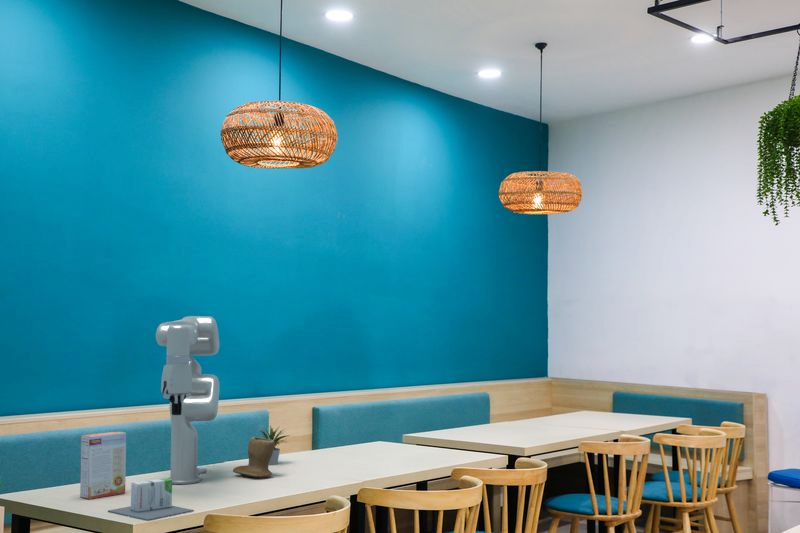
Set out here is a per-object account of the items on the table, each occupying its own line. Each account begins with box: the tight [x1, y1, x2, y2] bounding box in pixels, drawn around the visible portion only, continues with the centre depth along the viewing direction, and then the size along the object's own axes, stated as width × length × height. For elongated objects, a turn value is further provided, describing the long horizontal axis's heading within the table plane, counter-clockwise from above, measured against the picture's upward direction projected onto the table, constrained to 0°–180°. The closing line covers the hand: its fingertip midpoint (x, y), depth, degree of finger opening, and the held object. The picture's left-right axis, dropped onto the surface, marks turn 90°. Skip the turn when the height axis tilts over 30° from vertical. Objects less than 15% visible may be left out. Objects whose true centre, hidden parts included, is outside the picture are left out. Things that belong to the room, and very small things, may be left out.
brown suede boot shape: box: [232, 436, 276, 478], centre depth 331 cm, size 15×12×15 cm
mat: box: [107, 505, 195, 521], centre depth 266 cm, size 17×20×1 cm
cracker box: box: [79, 430, 127, 500], centre depth 292 cm, size 14×6×21 cm, turn 140°
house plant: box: [260, 425, 291, 466], centre depth 359 cm, size 14×14×16 cm
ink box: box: [130, 477, 173, 512], centre depth 269 cm, size 9×5×12 cm
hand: (176, 414), depth 295 cm, fingers closed
